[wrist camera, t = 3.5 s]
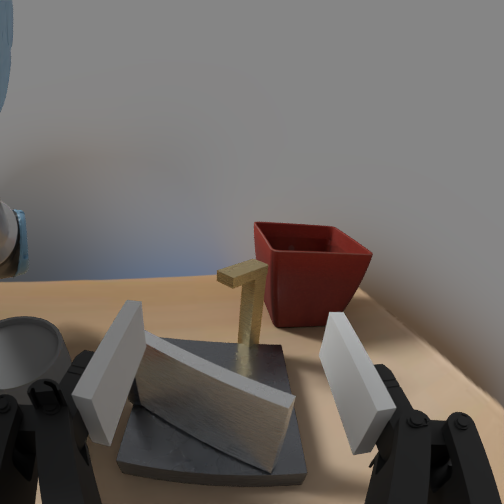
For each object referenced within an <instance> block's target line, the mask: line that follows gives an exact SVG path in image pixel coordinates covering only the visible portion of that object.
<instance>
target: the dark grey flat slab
mask: <svg viewBox="0 0 504 504" xmlns="http://www.w3.org/2000/svg"><path fill="white" fill-rule="evenodd" d="M159 338H161V337H159ZM161 339H163V340H165V341H167V342H169V343H171V344H173V345H175V346H177V347H179V348H181V349H184V350H186V351H188V352H190V353H192V354H194V355H196V356H198V357H201V358H203V359H205V360H207V361H209V362H212V363H214V364H216V365H218V366H221V367H223V368H225V369H228V370H230V371H232V372H235V373H237V374H240V375H242V376H244V377H247V378H249V379H252V380H254V381H257V382H259V383H262V384H265V385H267V386H270V387H273V388H275V389H278V390H281V391H283V392H286V393H289V394H291V390H290V385H289V380H288V375H287V370H286V365H285V360H284V356H283V351H282V346H281V345H267V344H254V345H252V346H251V347H247V346H246V345H244V344H240V343H222V342H206V341H193V340H181V339H171V338H161ZM116 461H117V463H118V465H119V467H120V469H121V471H122V473H125V474H130V475H135V476H140V477H146V478H152V479H158V480H165V481H172V482H180V483H189V484H200V485H214V486H239V487H261V486H287V485H300V484H302V483H303V481H304V479H305V476H306V474H307V469H306V464H305V459H304V454H303V449H302V444H301V439H300V434H299V429H298V424H297V419H296V414H295V409H294V406H293V410H292V413H291V417H290V421H289V424H288V428H287V432H286V435H285V439H284V442H283V446H282V449H281V452H280V456H279V459H278V462H277V464H276V466H275V467H274V469H273V470H272V472H271V473H270V472H267V471H265V470H262V469H260V468H258V467H255V466H253V465H251V464H248V463H246V462H244V461H242V460H239V459H237V458H235V457H233V456H231V455H229V454H227V453H225V452H223V451H220V450H218V449H216V448H214V447H213V446H211V445H209V444H207V443H205V442H203V441H201V440H199V439H197V438H195V437H194V436H192V435H190V434H188V433H186V432H185V431H183V430H181V429H179V428H178V427H176V426H174V425H173V424H171V423H169V422H168V421H166V420H164V419H163V418H161V417H159V416H158V415H156V414H155V413H153V412H151V411H150V410H148V409H147V408H145V407H144V406H142V405H135V404H134V405H133V408H132V411H131V414H130V417H129V420H128V423H127V426H126V430H125V433H124V436H123V439H122V443H121V446H120V449H119V453H118V456H117V459H116Z"/></svg>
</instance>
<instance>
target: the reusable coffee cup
mask: <svg viewBox="0 0 504 504" xmlns="http://www.w3.org/2000/svg"><path fill="white" fill-rule="evenodd" d="M71 364H72V362H71V358H70V355H69V352H68V350H67V348H66V345H65V343H64V340H63V338H62V335H61V333H60V332H59V330H58V328H57V327H56V326H55V325H54V324H52V323H50V322H49V321H47V320H44V319H41V318H37V317H28V316H21V317H12V318H7V319H4V320H0V395H2V394H9V395H11V396H13V397H14V398H15V399H16V400H17V402H18V404H22V405H33V404H32V402H31V400H30V398H29V396H28V394H27V390H28V388H29V386H30V385H31V384H32V383H33V382H35V381H37V380H40V379H52V380H54V381H56V382H57V383H58V384H59V383H60V382H61V380H62V378H63V377H64V375H65V373H67V370H68V368H69V367H70V366H71ZM85 442H86V441H85Z"/></svg>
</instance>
